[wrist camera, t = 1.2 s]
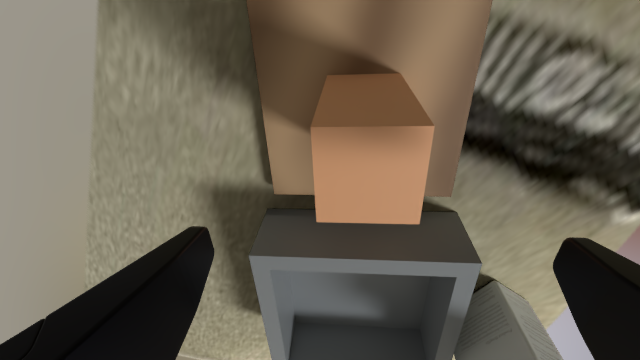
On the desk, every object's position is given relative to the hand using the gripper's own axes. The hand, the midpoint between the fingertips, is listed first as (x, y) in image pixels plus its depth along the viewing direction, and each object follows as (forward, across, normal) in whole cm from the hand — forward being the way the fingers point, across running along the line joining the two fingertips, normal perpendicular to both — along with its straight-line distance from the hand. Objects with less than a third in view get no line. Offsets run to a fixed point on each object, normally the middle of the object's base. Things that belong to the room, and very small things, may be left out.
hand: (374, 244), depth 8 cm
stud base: (+12, 0, 0) cm, 13 cm away
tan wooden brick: (+12, 0, 0) cm, 12 cm away
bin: (+12, 0, +15) cm, 20 cm away
